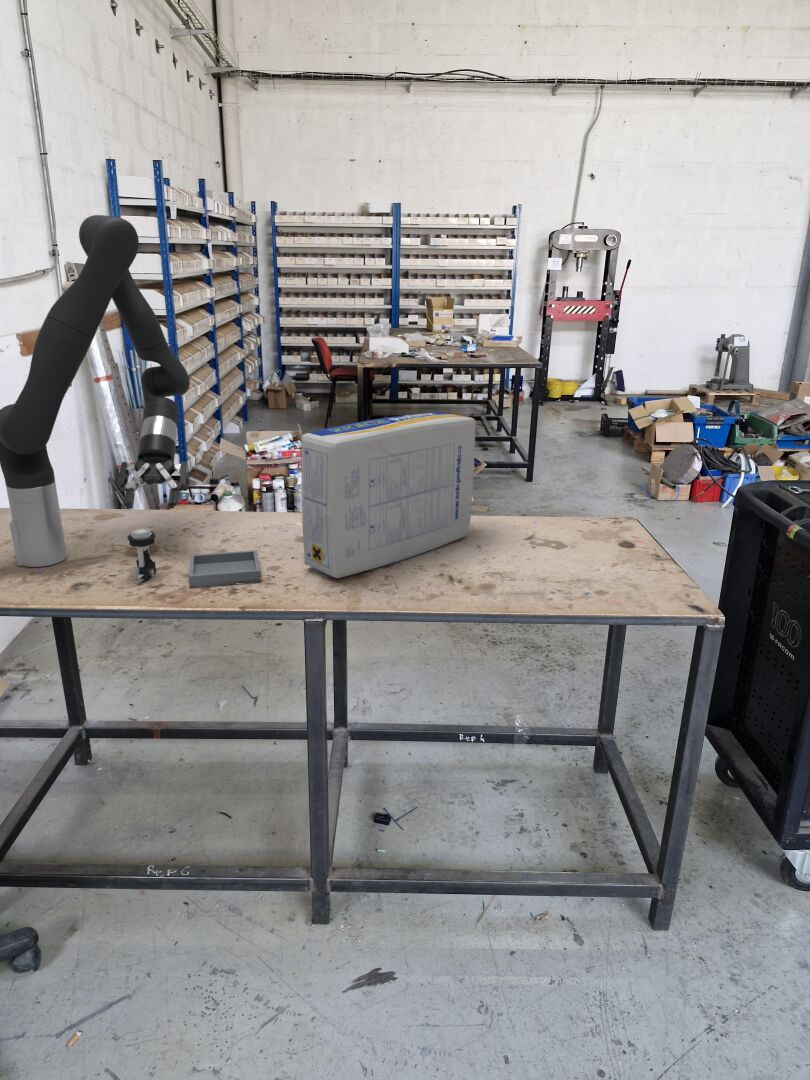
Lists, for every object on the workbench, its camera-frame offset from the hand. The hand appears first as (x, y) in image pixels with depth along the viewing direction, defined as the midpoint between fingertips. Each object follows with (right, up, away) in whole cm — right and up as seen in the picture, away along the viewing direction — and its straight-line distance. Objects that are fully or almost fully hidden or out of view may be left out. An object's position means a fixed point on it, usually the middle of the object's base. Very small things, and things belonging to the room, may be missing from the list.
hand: (150, 507), depth 150 cm
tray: (+16, -14, -1) cm, 21 cm away
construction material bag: (+51, -10, +12) cm, 53 cm away
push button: (0, -15, -4) cm, 16 cm away
